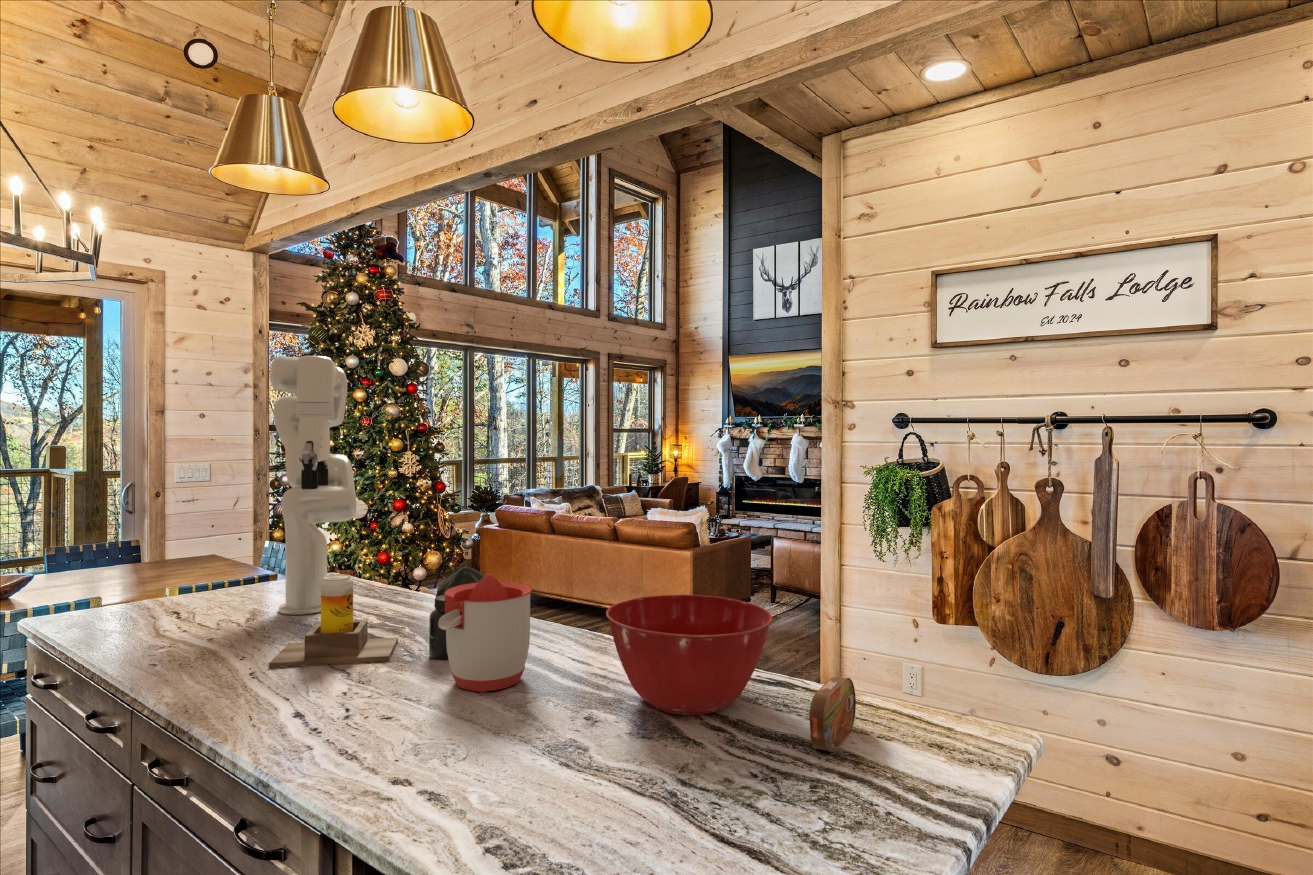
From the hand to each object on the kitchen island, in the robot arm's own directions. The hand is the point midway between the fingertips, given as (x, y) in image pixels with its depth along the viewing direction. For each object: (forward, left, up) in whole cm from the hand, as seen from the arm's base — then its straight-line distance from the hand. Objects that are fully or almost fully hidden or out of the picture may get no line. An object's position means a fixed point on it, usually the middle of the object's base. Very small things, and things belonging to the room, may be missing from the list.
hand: (315, 487), depth 161 cm
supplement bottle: (+21, +30, -34) cm, 50 cm away
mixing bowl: (+54, +73, -34) cm, 97 cm away
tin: (+74, +90, -34) cm, 121 cm away
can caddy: (+16, +8, -33) cm, 38 cm away
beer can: (+16, +8, -32) cm, 37 cm away
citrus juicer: (+39, +38, -34) cm, 64 cm away
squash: (-2, +33, -34) cm, 47 cm away
